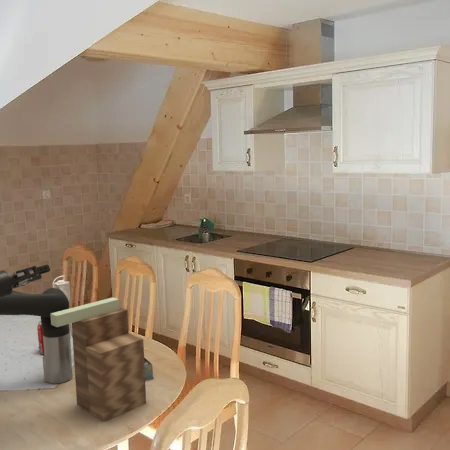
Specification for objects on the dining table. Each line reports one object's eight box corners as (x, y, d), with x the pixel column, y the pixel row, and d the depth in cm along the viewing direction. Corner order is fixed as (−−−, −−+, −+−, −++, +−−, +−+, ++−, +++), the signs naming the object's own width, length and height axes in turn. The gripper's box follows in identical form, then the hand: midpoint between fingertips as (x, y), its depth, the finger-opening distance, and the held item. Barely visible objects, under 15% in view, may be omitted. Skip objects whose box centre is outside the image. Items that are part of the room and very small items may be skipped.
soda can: (47, 357, 211) (45, 326, 209) (35, 353, 215) (33, 323, 213) (61, 350, 217) (59, 320, 215) (49, 347, 221) (47, 318, 219)
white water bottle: (58, 335, 235) (53, 275, 231) (76, 335, 235) (72, 274, 231) (51, 342, 227) (46, 280, 223) (70, 342, 227) (65, 279, 222)
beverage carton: (133, 384, 186) (132, 367, 185) (113, 366, 202) (112, 350, 201) (153, 379, 190) (153, 361, 189) (132, 361, 206) (131, 345, 205)
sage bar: (56, 327, 158) (56, 316, 157) (51, 324, 160) (50, 313, 159) (119, 309, 173) (119, 299, 173) (113, 307, 176) (113, 297, 175)
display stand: (104, 421, 161) (98, 328, 156) (77, 404, 172) (71, 316, 167) (146, 402, 172) (142, 314, 167) (118, 387, 183) (113, 304, 178)
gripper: (-7, 268, 147) (48, 253, 157) (-19, 281, 158) (33, 266, 168) (1, 293, 146) (56, 276, 156) (-11, 304, 157) (41, 288, 167)
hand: (44, 271), depth 162 cm, fingers open, 8 cm apart
